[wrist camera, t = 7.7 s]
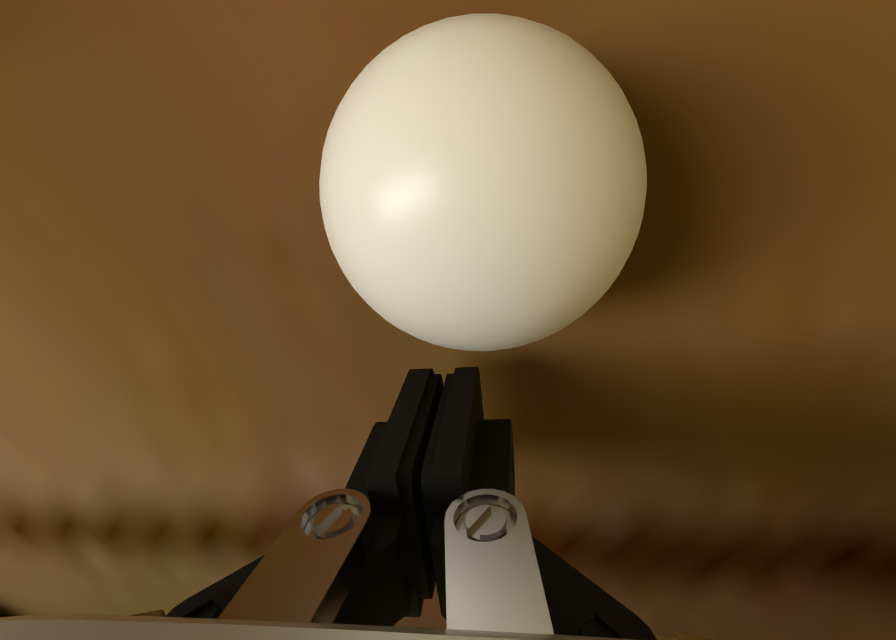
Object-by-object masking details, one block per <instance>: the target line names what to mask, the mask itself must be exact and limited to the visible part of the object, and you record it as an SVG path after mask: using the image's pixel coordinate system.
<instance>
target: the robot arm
mask: <svg viewBox="0 0 896 640" xmlns="http://www.w3.org/2000/svg"><path fill="white" fill-rule="evenodd" d="M435 582H436V585H437V591H438V597H439V602H440V608H441V615H442V616H443V617H444V618H445V619H446V621H447V629H438V628H418V627H396V626H395V623H397V622H398V621H399V620H401V619H402V618H403V617H405V616H406V617H420V616H421V611H422V605H423V600H424V599H432V597H433V593H434V587H435ZM0 640H709V639H705V638H701V637H697V636H693V635H689V634H685V633H681V632H677V631H675V637H674V639H673V638H669V637H665V636H661V635H657V634H653V632H652V631H651V629H650V628H649V627H648V626H647V625H646V624H645V623H644V622H643V621H642V620H641V619H640V618H639V617H638V616H637V615H636V614H634V613H633V612H632V611H630V610H629V609H628V608H626V607H625V606H624V605H622V604H621V603H620V602H618V601H617V600H616V599H614V598H613V597H612V596H610V595H609V594H608V593H606V592H605V591H604V590H603V589H601V588H600V587H599V586H597V585H596V584H595V583H593V582H592V581H591V580H589V579H588V578H587V577H585V576H584V575H583V574H581V573H580V572H579V571H577V570H576V569H575V568H573V567H572V566H571V565H570V564H568V563H567V562H566V561H564V560H563V559H562V558H560V557H559V556H558V555H556V554H555V553H554V552H552V551H551V550H550V549H548V548H547V547H546V546H544V545H543V544H542V543H540V542H539V541H538V540H537V539H535V538H534V537H533V536H531V532H530V528H529V524H528V519H527V515H526V512H525V509H524V507H523V505H522V503H521V502H520V501H519V500H518V499H517V498H516V497H515V472H514V450H513V436H512V424H511V419H496V420H484V416H483V406H482V395H481V384H480V374H479V368H478V367H462V368H455V371H454V374H447V375H446V379H445V383H444V387H443V380H442V375H441V374H434V371H433V369H410V370H409V372H408V374H407V377H406V379H405V381H404V384H403V386H402V389H401V391H400V393H399V396H398V398H397V401H396V403H395V405H394V408H393V410H392V412H391V415H390V417H389V420H388V422H377V423H375V425H374V426H373V429H372V431H371V433H370V435H369V437H368V439H367V442H366V444H365V446H364V448H363V450H362V453H361V455H360V457H359V459H358V461H357V464H356V466H355V468H354V470H353V472H352V474H351V477H350V479H349V481H348V483H347V485H346V488H345V489H335V490H331V491H326V492H324V493H322V494H319V495H317V496H315V497H313V498H312V499H310V500H309V501H307V502H306V503H305V504H304V505H303V506H302V507H301V508H300V509H299V510H298V511H297V513H296V514H295V515H294V517H293V518H292V519H291V521H290V522H289V523H288V525H287V526H286V527H285V529H284V530H283V531H282V533H281V534H280V536H279V537H278V538H277V540H276V541H275V542H274V544H273V545H272V546H271V548H270V549H269V550H268V552H267V553H266V554H265V555H264V556H262V557H260V558H258V559H257V560H255V561H253V562H251V563H250V564H248V565H246V566H244V567H242V568H241V569H239V570H237V571H235V572H234V573H232V574H230V575H228V576H227V577H225V578H223V579H221V580H220V581H218V582H216V583H214V584H212V585H211V586H209V587H207V588H205V589H204V590H202V591H200V592H198V593H197V594H195V595H193V596H191V597H190V598H188V599H186V600H185V601H183V602H182V603H180V604H179V605H177V606H176V607H175V608H173V609H172V610H171V611H170V612H169V613H168V614H167V615H165V613H164V611H163V610H157V611H151V612H146V613H140V614H135V615H129V616H120V615H22V616H10V617H0Z"/></svg>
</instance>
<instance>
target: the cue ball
mask: <svg viewBox="0 0 896 640" xmlns="http://www.w3.org/2000/svg"><path fill="white" fill-rule="evenodd" d="M319 184H320V204H321V210H322V216H323V222H324V226H325V231H326V234H327V237H328V240H329V243H330V246H331V249H332V251H333V253H334V255H335V257H336V259H337V261H338V264H339V266H340V267H341V269H342V271H343V273H344V274H345V276H346V277H347V279H348V280H349V282H350V283H351V285H352V286H353V288H354V289H355V290H356V292H357V293H358V294H359V295H360V296H361V297H362V298H363V299H364V301H365V302H366V303H367V304H368V305H369V306H370V307H371V308H372V309H374V310H375V311H376V312H377V313H378V314H379V315H380V316H382V317H383V318H384V319H385V320H387V321H388V322H390V323H391V324H393V325H394V326H396V327H397V328H399V329H401V330H403V331H404V332H406V333H408V334H410V335H412V336H414V337H416V338H418V339H421V340H423V341H426V342H429V343H431V344H434V345H438V346H442V347H446V348H451V349H458V350H465V351H494V350H503V349H510V348H515V347H519V346H523V345H527V344H530V343H533V342H535V341H538V340H541V339H543V338H545V337H547V336H550V335H552V334H554V333H556V332H558V331H559V330H561V329H563V328H564V327H566V326H568V325H569V324H571V323H572V322H573V321H575V320H576V319H577V318H579V317H580V316H581V315H583V314H584V313H585V312H586V311H588V310H589V309H590V308H591V307H592V306H593V305H594V304H595V303H596V302H597V301H598V300H599V299H600V298H601V297H602V296H603V295H604V294H605V293H606V291H607V290H608V289H609V288H610V287H611V285H612V284H613V282H614V281H615V280H616V278H617V277H618V275H619V274H620V272H621V270H622V268H623V266H624V265H625V263H626V261H627V259H628V257H629V255H630V253H631V252H632V249H633V247H634V244H635V242H636V239H637V237H638V234H639V230H640V226H641V222H642V219H643V214H644V208H645V200H646V192H647V167H646V159H645V153H644V147H643V140H642V136H641V133H640V130H639V126H638V123H637V120H636V117H635V115H634V113H633V111H632V109H631V107H630V105H629V103H628V101H627V99H626V97H625V95H624V93H623V91H622V89H621V88H620V86H619V85H618V83H617V82H616V81H615V79H614V78H613V77H612V75H611V74H610V72H609V71H608V70H607V69H606V68H605V67H604V66H603V65H602V64H601V63H600V62H599V61H598V60H597V59H596V58H595V57H594V56H593V55H592V54H591V53H590V52H589V51H588V50H587V49H585V48H584V47H583V46H581V45H580V44H578V43H577V42H576V41H574V40H573V39H571V38H570V37H569V36H567V35H565V34H563V33H561V32H559V31H557V30H555V29H553V28H551V27H549V26H547V25H544V24H541V23H537V22H534V21H531V20H528V19H524V18H521V17H516V16H510V15H503V14H496V13H493V14H467V15H461V16H455V17H449V18H446V19H442V20H439V21H436V22H433V23H430V24H427V25H424V26H422V27H420V28H418V29H416V30H414V31H412V32H410V33H408V34H406V35H404V36H403V37H401V38H400V39H398V40H397V41H395V42H394V43H392V44H391V45H390V46H388V47H387V48H385V49H384V50H383V51H382V52H381V53H379V54H378V55H377V56H376V57H375V58H374V59H373V60H372V61H371V62H370V63H369V64H368V65H367V66H366V67H365V68H364V69H363V70H362V72H361V73H360V74H359V75H358V77H357V78H356V79H355V80H354V82H353V83H352V84H351V86H350V88H349V89H348V91H347V93H346V94H345V96H344V98H343V99H342V101H341V103H340V104H339V106H338V108H337V110H336V112H335V115H334V117H333V120H332V122H331V124H330V127H329V129H328V133H327V136H326V140H325V144H324V148H323V153H322V161H321V170H320V180H319Z"/></svg>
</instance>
